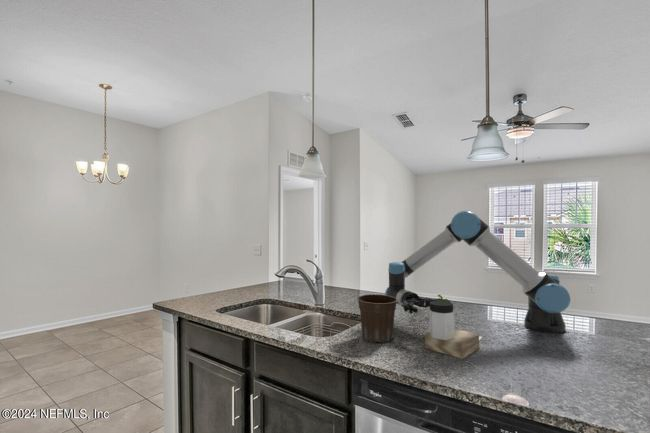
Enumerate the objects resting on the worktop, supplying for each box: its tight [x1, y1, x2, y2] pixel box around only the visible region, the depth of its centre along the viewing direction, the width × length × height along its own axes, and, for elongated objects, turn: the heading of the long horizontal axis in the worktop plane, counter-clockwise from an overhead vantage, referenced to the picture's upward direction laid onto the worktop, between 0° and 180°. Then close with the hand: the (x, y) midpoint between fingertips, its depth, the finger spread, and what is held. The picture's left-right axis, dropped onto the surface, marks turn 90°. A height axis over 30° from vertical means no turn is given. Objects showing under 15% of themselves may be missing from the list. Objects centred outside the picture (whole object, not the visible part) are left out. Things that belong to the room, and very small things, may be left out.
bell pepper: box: [434, 294, 452, 303], centre depth 166 cm, size 8×8×10 cm
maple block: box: [424, 328, 480, 360], centre depth 122 cm, size 14×14×5 cm
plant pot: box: [357, 293, 397, 344], centre depth 133 cm, size 16×16×16 cm
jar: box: [428, 301, 456, 340], centre depth 120 cm, size 9×8×12 cm
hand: (438, 310), depth 129 cm, fingers open, 13 cm apart
